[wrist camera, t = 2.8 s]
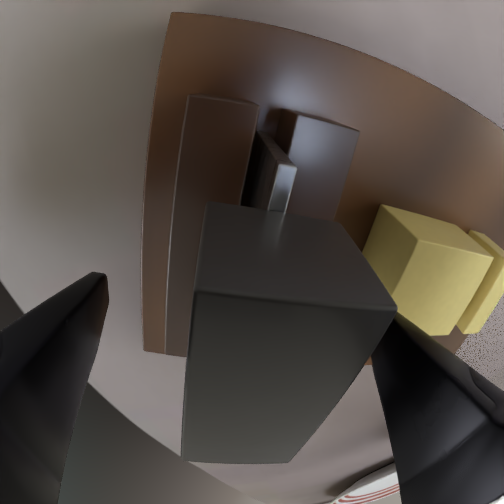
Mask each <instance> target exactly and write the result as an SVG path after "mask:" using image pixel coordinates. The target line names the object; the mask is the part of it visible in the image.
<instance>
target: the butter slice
mask: <svg viewBox="0 0 504 504" xmlns="http://www.w3.org/2000/svg"><path fill="white" fill-rule="evenodd" d="M468 235H469V236H470V237H471V238H472V239H473V240H475V241H476V242H477V243H478V244H479V245H480V246H482V247H483V248H484V249H485V250H486V251H487V252H488V253H489V254H491V255H492V256H493V258H494V259H493V261H492V263H491V265H490V267H489V268H488V270H487V272H486V274H485V276H484V278H483V280H482V282H481V283H480V285H479V287H478V289H477V290H476V292H475V294H474V296H473V297H472V299H471V301H470V302H469V304H468V306H467V307H466V309H465V311H464V312H463V314H462V315H461V317H460V318H459V320H458V322H457V323H456V325H457V326H458V328H459V329H460V331H461V332H462V333H463V334H474V333H478V332H479V331H480V329H481V328H482V326H483V325H484V323H485V322H486V320H487V319H488V317H489V316H490V314H491V313H492V311H493V309H494V308H495V306H496V305H497V303H498V301H499V300H500V298H501V296H502V295H503V293H504V250H503V249H501V248H500V247H499V246H498V245H497V244H496V243H494V242H493V241H492V240H491V239H490V238H488V237H487V236H486V235H485V234H482V233H479V232H476V231H473V230H470V231H469V233H468Z"/></svg>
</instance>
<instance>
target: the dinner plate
mask: <svg viewBox="0 0 504 504" xmlns="http://www.w3.org/2000/svg"><path fill="white" fill-rule="evenodd" d="M399 486H400V485H399V483H398V477H397V472H396V467H395V463H392V464H390V465H388V466H386V467H384V468H381V469H379V470H377V471H375V472H373V473H371V474H369V475H367V476H365V477H364V478H362V479H360V480H359V481H357V482H356V483H354V484H353V485H352V486H351V487H350V488H348V489H346V490H345V491H344V492H342V493H341V494H339V495H338V496H337V497H336V498H335V499H334V500H333V501H332V502H331V503H330V504H365V503H369V502H372V501H375V500H378V499H381V498H384V497H387V496H389V495H392V494H394V493H396V492H399V491H400V489H399Z"/></svg>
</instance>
